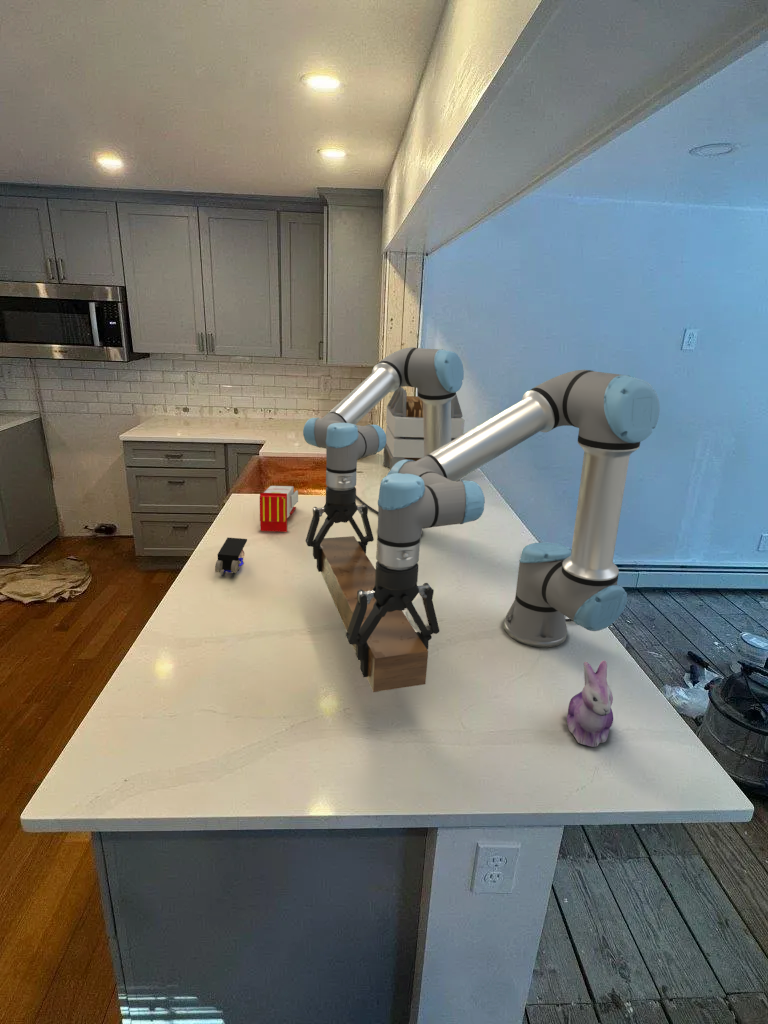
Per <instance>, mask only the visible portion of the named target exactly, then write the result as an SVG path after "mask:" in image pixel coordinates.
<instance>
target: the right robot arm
mask: <svg viewBox="0 0 768 1024" xmlns="http://www.w3.org/2000/svg"><path fill="white" fill-rule="evenodd" d="M660 407H661V406H660V399H659V396H658V392H657V391H656V390H655V388H653V385H652V384H650V383H649V382H648V381H647V380H645V379H641V378H636V377H634V376H631V375H629V374H619V373H612V372H602V371H595V370H591V369H576V370H571V371H567V372H565V373H562V374H560V375H557V376H554V377H552V378H550V379H547V380H546V381H544V382H542V383H539V384H538V385H536V386H534V387H533V388H531V389H529V390H527V391H526V392H524V394H523V395H522V397H521V400H520V401H518V402H516V403H515V404H513V405H511V406H510V407H508V408H506V409H504V410H502V411H500V412H499V413H497V414H495V415H494V416H492V417H491V418H489V419H487V420H485V421H483V422H482V423H479V424H478V425H477V426H474V427H473V428H472V429H470V430H468V431H466V432H463V435H461V436H459V437H458V438H456V439H454V440H452V441H451V442H449V443H447V444H445V445H444V446H442V447H440V448H439V449H437V450H435V451H433V452H432V453H430V454H428V455H426V456H425V457H423V458H421V459H419V460H417V461H413V460H407V459H406V460H401V461H399V462H397V463H396V464H395V465H394V466H393V467H392V469H391V470H390V469H389V472H390V473H389V472H388V473H389V475H385V476H384V477H383V478H381V480H380V484H379V491H378V499H377V507H378V509H377V511H378V514H377V515H378V516H377V537H376V552H375V553H376V554H375V559H376V562H375V569H376V574H375V586H374V588H373V590H371V591H365V592H364V591H363V590H362V589H360V590H358V591H357V604H356V607H355V609H354V612H353V615H352V618H351V621H350V624H349V627H348V630H347V631H346V632H345V638H346V640H347V642H348V644H349V645H350V646H353V644H356V651H355V652H354V654H355V656H356V659H357V660H358V661H359V660H360V661H359V670H360V672H361V675H362V677H363V678H367V677H368V654H369V646H368V644H367V640H368V639H369V637H370V635H371V634H372V632H373V631H374V629H375V628H376V626H377V624H378V623H379V621H380V620H381V618H382V617H384V616H385V615H386V613H387V611H388V612H392V611H395V610H400V611H405V609H407V612H408V613H409V615H410V616H411V618H412V619H413V622H414V623H415V625H416V626H417V628H418V630H419V631H415V632H416V633H417V635H418V636H419V638H420V639H421V641H422V642H423V644H424V646H425V647H426V649H427V650H428V649H429V641H430V640H431V639H432V635H434V634H435V635H437V634H439V633H440V626H439V622H438V618H437V613H436V610H435V606H434V601H433V598H434V589H433V587H431V585H430V584H429V583H428V582H424V583H423V584H422V585H418V579H419V560H420V551H421V549H420V548H421V537H422V535H421V529H422V530H424V529H430V528H436V527H445V526H453V525H463V524H466V523H470V522H475V521H477V520H479V519H480V518H481V517H482V515H483V513H484V511H485V502H486V500H485V495H484V492H483V489H482V487H481V486H480V484H478V482H476V481H474V480H463V479H462V478H464V477H466V476H467V475H469V474H471V473H473V472H474V471H476V470H478V469H479V468H481V467H482V466H485V465H486V464H487V463H489V462H491V461H493V460H494V459H496V458H498V457H499V456H502V455H503V454H504V453H506V452H508V451H510V450H511V449H513V448H514V447H517V446H518V445H520V444H521V443H523V442H525V441H526V440H528V439H530V438H531V437H533V436H535V435H536V434H538V433H539V432H540V433H549V432H550V431H552V430H554V429H557V428H558V427H563V426H564V427H565V426H567V427H574V428H577V429H578V435H577V444H578V445H579V446H580V448H582V450H583V458H582V467H581V474H580V481H579V490H578V496H577V497H578V498H577V504H576V505H577V506H576V512H575V519H574V529H573V536H572V544H571V548H570V546H567V545H564V544H561V543H556V542H545V541H544V542H534V543H530V544H527V545H525V546H524V547H523V548H522V550H521V554H520V558H519V564H518V573H517V578H516V579H517V580H516V587H515V588H516V589H515V597H514V600H513V602H512V603H511V606H510V608H509V609H508V611H507V613H506V615H505V618H504V620H503V621H504V623H503V629H504V631H505V632H506V634H507V635H508V636H509V637H510V638H511V639H513V640H515V641H517V643H518V642H519V643H520V644H523V645H526V646H529V647H535V648H553V647H558V646H560V645H562V644H563V643H564V642H565V641H566V639H567V635H568V626H567V623H572V622H573V623H574V624H575V625H577V626H580V627H582V628H584V629H585V630H587V631H591V632H599V631H602V630H604V629H607V628H608V627H610V626H611V625H612V624H613V623H615V622H616V621H617V620H618V619H619V617H620V616H621V615H622V613H623V612H624V610H625V608H626V605H627V602H628V594H627V591H626V590H625V588H624V587H623V586H621V585H619V584H618V580H619V573H620V570H619V568H618V566H617V565H616V564H615V562H614V556H615V551H616V545H617V537H618V532H619V525H620V519H621V512H622V508H623V507H622V506H623V499H624V494H625V488H626V481H627V475H628V468H629V463H630V458H631V457H630V456H631V454H633V453H634V452H637V450H639V448H640V447H641V442H643V441H645V440H647V439H648V438H649V437H650V436H651V435H652V434H653V430H654V429H656V427H657V424H658V422H659V419H660V409H661V408H660ZM459 479H460V481H458V482H456V481H457V480H459ZM418 594H419V596H420V598H421V600H422V603H423V607H424V611H425V616H426V620H427V623H428V624H427V625H426V624H425V622H424V621H423V619H422V617H421V616H420V614H419V613H418V611H417V609H416V607H415V606H414V603H413V601H414V600H415V598H417V596H418ZM372 598H375V599H376V602H375V603H374V605H373V609H372V611H371V612H370V614H369V615H368V617H367V619H366V620H365V622H364V623H363V625H362V626H361V624H362V622H363V619H364V616H365V613H366V610H367V604H370V601H371V599H372ZM360 627H361V628H360ZM428 651H429V650H428Z"/></svg>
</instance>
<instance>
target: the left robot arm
mask: <svg viewBox="0 0 768 1024" xmlns="http://www.w3.org/2000/svg"><path fill="white" fill-rule="evenodd" d="M463 364H464V363H463V361H462V358H461V357H460V356H459V355H458V353H457V352H455V351H451V350H446V349H443V348H441V349H440V348H439V349H438V348H424V347H423V348H422V347H413V346H412V347H410V346H409V347H405V348H401V349H398V350H396V351H394V352H392V353H391V354H388V355H387V356H385V357H384V358H383V359H381V360H380V361H378V362H377V364H375V365H374V366H373V368H372V370H371V373H370V374H369V375H368V376H367V377H365V379H364V380H363V381H362V382H361V383H359V384H358V385H357V386H356V387H355V388H354V389H353V390H352V391H351V392H350V393H348V394H347V395H345V397H343V398H342V400H341V401H340V402H338V403H337V404H336V405H335V406H334V407H333V408H331V409H330V410H329V411H328V412H327V413H326V414H325V415H324V416H323V417H322V418H320V417H311V418H308V419H307V421H306V422H305V423H304V426H303V429H302V436H303V438H304V441H305V442H306V444H308V445H310V446H314V447H317V448H318V449H319V448H321V449H325V451H326V452H325V453H326V454H325V456H326V465H325V485H326V487H325V504H324V506H322V507H317V506H313V508H312V518H311V521H310V524H309V527H308V531H307V534H306V538H305V544H306V546H307V547H312V557H313V559H314V560H316V569H317V571H318V573H321V572H322V548H321V546H320V544H321V542H322V541H323V539H324V538H326V536H327V534H328V532H329V530H330V529H331V527H333V526H334V524H339V523H345V524H346V523H348V522H349V524H350V525H351V527H352V529H353V530H354V532H355V533H356V535H357V537H358V539H359V540H357V542H358V543H359V545H360V546H361V548H362V549H363V551H364V552H365V554H366V555H367V546H368V543H370V542H373V541H374V539H375V538H374V535H373V530H372V527H371V524H370V520H369V516H368V514H369V513H368V512H369V510H370V511H371V512H373V513H375V514H376V515H378V510H376V509H374V508H373V507H371V506H370V505H369V504H367V503H366V502H365V501H363V500H362V499H361V498H360V497H358V495H357V487H356V486H357V470H358V469H357V468H358V466H357V465H358V460H360V459H363V458H366V457H369V456H374V455H376V454H377V453H379V452H381V451H384V447H385V445H386V431H385V430H384V429H383V428H382V427H381V426H380V425H378V424H366V425H359V424H358V423H359V422H360V421H361V420H362V419H364V417H365V416H367V414H368V413H370V412H371V411H372V410H373V408H375V407H376V406H377V405H378V404H379V403H380V402H381V401H382V400H383V399H384V398H386V396H387V395H388V394H389V393H394V392H395V391H396V390H397V389H398V388H399V387H402V388H403V387H408V388H409V387H410V388H415V389H417V396H418V397H419V398H420V399H421V400H422V401H423V425H424V457H425V456H426V455H428V454H430V453H432V452H433V451H435V450H437V449H439V448H440V447H442V446H444V445H445V444H447V443H449V442H451V400H452V399H453V398H454V397H455V396H456V395H457V392H459V391H460V390H461V388H462V386H463V381H464V379H465V378H464V377H465V376H464V375H465V374H464V373H465V370H464V365H463ZM389 473H390V471H388V472H387V475H389ZM387 475H386V476H387ZM357 501H358V502H359V503H361V505H358V504H357ZM357 511H358V513H359V514H360V517H361V521H362V524H363V527H364V528H363V529H364V532H365V536H364V534H363V532H362V531H361V529H360V528H359V525H358V524H357V522H356V520H355V519H354V517H353V516H354V515H355V514H356V513H357ZM324 513H325V514H326V515H327V516H326V517H325V519H324V521H323V524H322V525H321V527H320V528H319V530H318V526H319V523H320V517H322V516H323V514H324ZM317 530H318V532H317ZM316 533H317V534H316ZM422 535H423V529H421V536H422Z"/></svg>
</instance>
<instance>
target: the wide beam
mask: <svg viewBox="0 0 768 1024" xmlns="http://www.w3.org/2000/svg"><path fill="white" fill-rule="evenodd" d="M357 541H358V540H357V538H356V537H355V536H354V535H351V536H350V535H349V536H337V537H335V536H334V537H324V539H323V541H322V542H321V544H320V546H321V548H322V572H320V573H321V575H322V578H323V580H324V583H325V585H326V587H327V589H328V592H329V594H330V596H331V598H332V602H333V603H334V605H335V607H336V611H337V612H338V615H339V617H340V619H341V623H342V624H343V627H344V628H345V631H346V632H347V630H348V627H349V624H350V621H351V618H352V615H353V612H354V609H355V607H356V604H357V591H358V590H360V589H362V590H363V591H364V592H365V591H371V590H373V588H374V586H375V574H376V567H375V566H374V564H373V563H372V562H371V560H370V559H369V557H368V555H367V553H366V554H365V552H364V551H363V549H362V548H361V546H360V545H359V543H358V542H357ZM375 602H376V599H375V598H372V599H371V601H370V604H367V610H366V613H365V616H364V619H363V622H362V624H361V626H362V625H363V623H364V622H365V620H366V619H367V617H368V615H369V614H370V612H371V611H372V609H373V605H374V603H375ZM360 628H361V627H360ZM416 632H417V631H416V630H415V629H414V627H413V625H412V623H411V622H410V621H409V619H408V618H407V616H406V615H405V613H404V610H402V611H400V610H395V611H392V612H388V611H387V613H386V615H385V616H384V617H382V618H381V620H380V621H379V623H378V624H377V626H376V628H375V629H374V631H373V632H372V634H371V635H370V637H369V639H368V640H367V644H368V646H369V654H368V677H366V679H367V681H368V683H369V685H370V688H371V691H372V693H378V692H383V691H389V690H397V689H404V688H409V687H410V688H411V687H416V686H417V687H418V686H424V685H426V683H427V671H428V659H429V650H427V649H426V647H425V646H424V644H423V642H422V641H421V639H420V638H419V636H418V635H417V633H416ZM352 646H353V647H352V648H353V649H354V651H355V652H356V644H353V645H352ZM358 661H359V662H360V660H358Z"/></svg>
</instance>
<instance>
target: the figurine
mask: <svg viewBox="0 0 768 1024" xmlns="http://www.w3.org/2000/svg"><path fill="white" fill-rule="evenodd" d="M583 676H584V677H583V678H584V686H583V688H582V690H581V691H580V692H579V693H577V694H575V695H574V696H572V698H571V699H570V700H569V703H568V709H567V714H566V725H567V728H568V731H569V732H570V733H571V734H572V736H573V737H574V738H575V740H576V742H577V743H578V744H580V745H584V746H588V747H593V748H596V747H598V746H599V745H600V744H601V743H602V744H603V743H605V742H606V741H607V739H608V737H609V734H610V728H611V727H612V726H613V723H614V712H613V709H612V704H613V701H614V697H613V692H612V689H611V687H610V686H609V684H608V680H607V677H608V663H607V661H606V660H602V661H600V663H599V664H598V667H597V670H596V671H595V670H594V669H593V667H592V665H591V664H590V663H589V662H588V661H584V662H583Z"/></svg>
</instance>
